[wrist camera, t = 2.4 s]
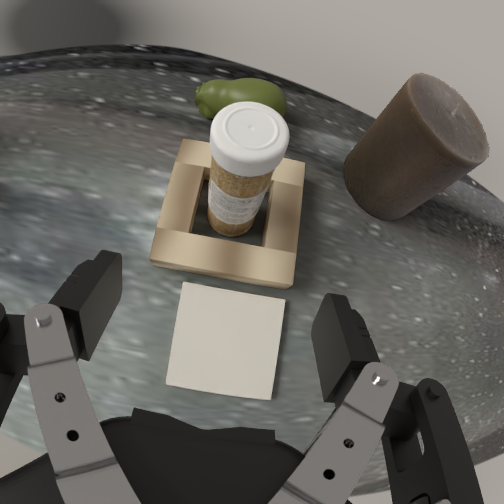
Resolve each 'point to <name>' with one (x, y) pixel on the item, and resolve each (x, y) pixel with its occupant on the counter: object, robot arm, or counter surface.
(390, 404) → the robot arm
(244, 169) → the sprinkles bottle
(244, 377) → the tile
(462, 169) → the pillar candle
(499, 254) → the counter surface
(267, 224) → the collar
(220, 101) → the pear
